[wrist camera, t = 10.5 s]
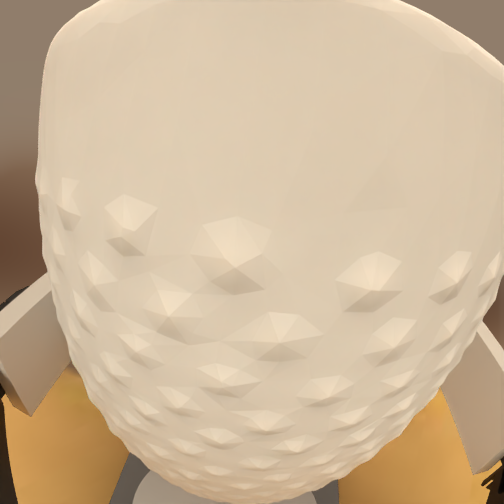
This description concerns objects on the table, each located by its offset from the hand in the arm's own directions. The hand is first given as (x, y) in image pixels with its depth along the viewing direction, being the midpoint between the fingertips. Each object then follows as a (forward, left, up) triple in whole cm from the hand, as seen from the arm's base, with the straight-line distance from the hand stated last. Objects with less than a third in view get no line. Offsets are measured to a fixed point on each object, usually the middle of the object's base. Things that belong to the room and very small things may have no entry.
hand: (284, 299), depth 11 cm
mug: (0, -1, -6) cm, 6 cm away
